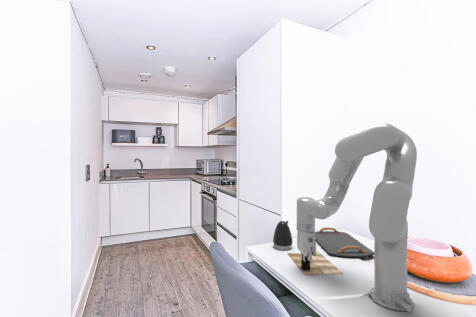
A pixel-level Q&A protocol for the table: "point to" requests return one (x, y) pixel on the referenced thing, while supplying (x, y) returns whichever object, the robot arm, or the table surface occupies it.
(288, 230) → the pump dispenser
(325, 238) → the serving board
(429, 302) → the table surface
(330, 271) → the laid boards
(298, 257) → the plank
